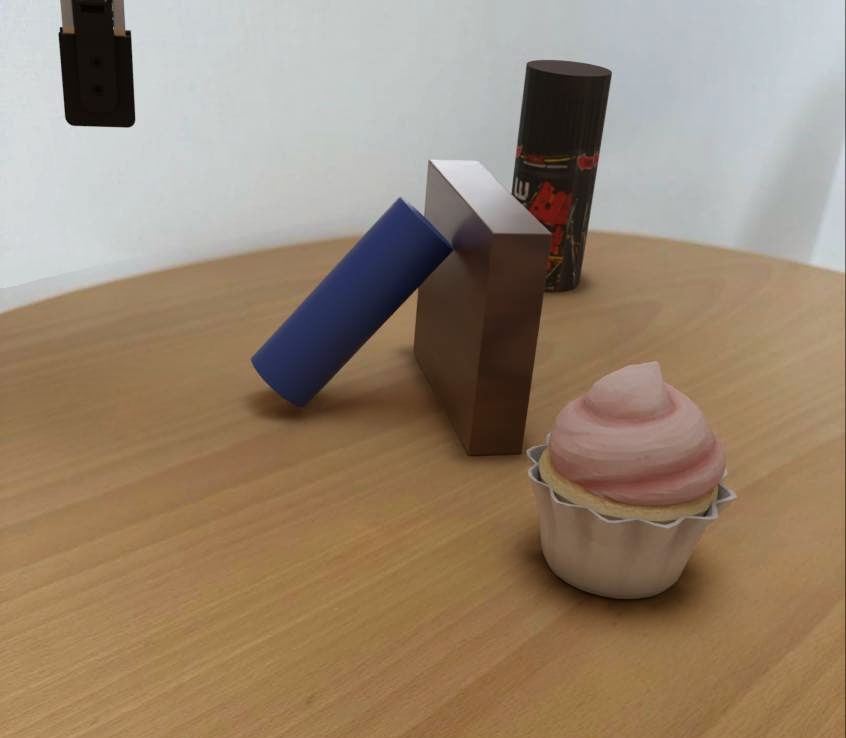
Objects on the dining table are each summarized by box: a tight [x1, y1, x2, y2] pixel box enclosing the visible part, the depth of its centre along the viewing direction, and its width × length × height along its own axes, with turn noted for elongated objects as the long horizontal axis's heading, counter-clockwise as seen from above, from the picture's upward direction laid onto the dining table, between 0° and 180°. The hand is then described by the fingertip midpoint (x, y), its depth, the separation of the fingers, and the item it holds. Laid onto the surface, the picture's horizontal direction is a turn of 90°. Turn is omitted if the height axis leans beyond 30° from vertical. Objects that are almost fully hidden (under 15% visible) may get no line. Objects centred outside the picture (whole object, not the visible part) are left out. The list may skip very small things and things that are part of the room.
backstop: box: [412, 159, 552, 456], centre depth 64 cm, size 3×14×12 cm, turn 13°
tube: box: [250, 195, 454, 409], centre depth 63 cm, size 11×4×12 cm, turn 103°
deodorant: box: [510, 59, 613, 293], centre depth 83 cm, size 6×6×15 cm
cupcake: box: [526, 360, 738, 600], centre depth 51 cm, size 9×9×10 cm
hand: (101, 120), depth 55 cm, fingers closed
